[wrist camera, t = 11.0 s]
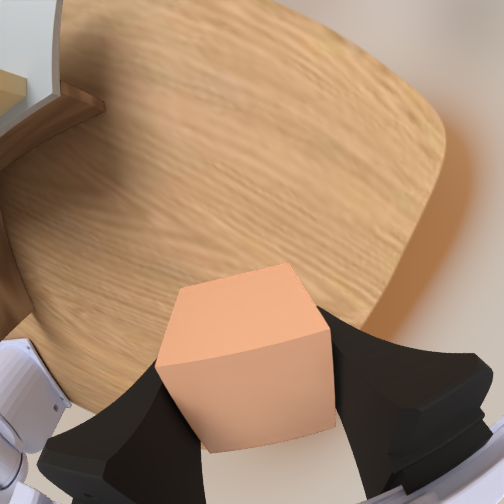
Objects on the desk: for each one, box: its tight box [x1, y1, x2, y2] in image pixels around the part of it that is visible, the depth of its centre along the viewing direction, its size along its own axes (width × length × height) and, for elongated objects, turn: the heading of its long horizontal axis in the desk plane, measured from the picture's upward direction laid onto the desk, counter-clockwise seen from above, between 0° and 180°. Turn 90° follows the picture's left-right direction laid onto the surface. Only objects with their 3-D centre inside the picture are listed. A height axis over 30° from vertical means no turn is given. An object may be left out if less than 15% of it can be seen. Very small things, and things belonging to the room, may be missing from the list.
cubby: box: [0, 80, 105, 342], centre depth 14 cm, size 14×14×6 cm
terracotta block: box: [155, 262, 336, 453], centre depth 9 cm, size 4×4×5 cm
